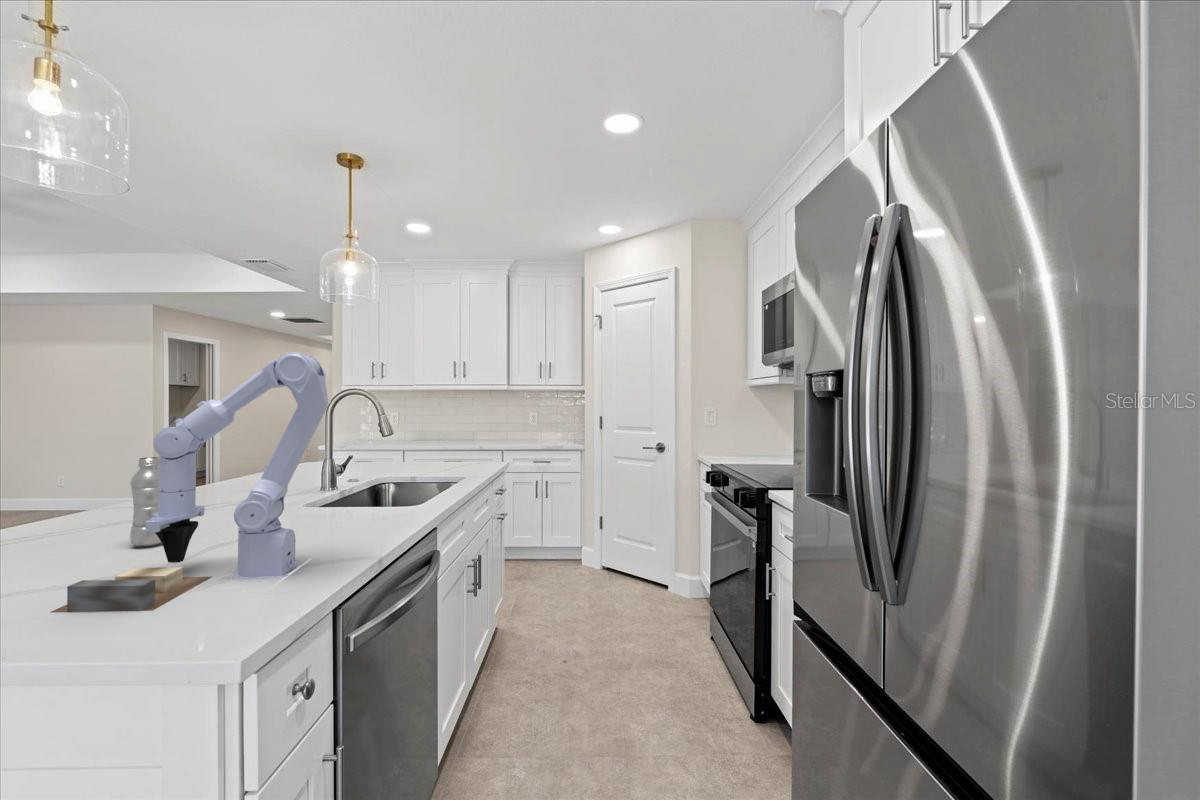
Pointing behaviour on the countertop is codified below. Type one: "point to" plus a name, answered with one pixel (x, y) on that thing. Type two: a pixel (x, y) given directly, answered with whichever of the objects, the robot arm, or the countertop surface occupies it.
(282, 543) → the robot arm
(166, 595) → the board
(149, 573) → the cream wooden block
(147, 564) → the countertop surface
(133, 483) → the plastic bottle
